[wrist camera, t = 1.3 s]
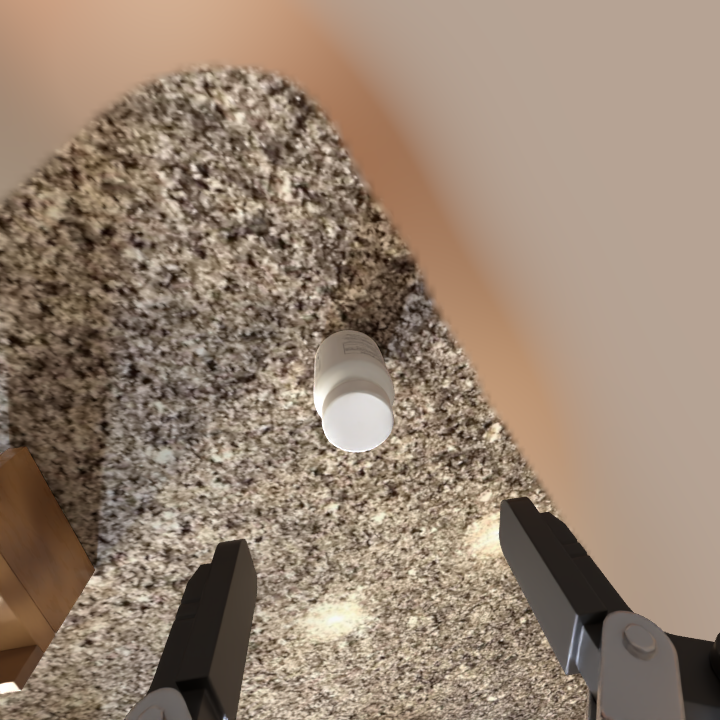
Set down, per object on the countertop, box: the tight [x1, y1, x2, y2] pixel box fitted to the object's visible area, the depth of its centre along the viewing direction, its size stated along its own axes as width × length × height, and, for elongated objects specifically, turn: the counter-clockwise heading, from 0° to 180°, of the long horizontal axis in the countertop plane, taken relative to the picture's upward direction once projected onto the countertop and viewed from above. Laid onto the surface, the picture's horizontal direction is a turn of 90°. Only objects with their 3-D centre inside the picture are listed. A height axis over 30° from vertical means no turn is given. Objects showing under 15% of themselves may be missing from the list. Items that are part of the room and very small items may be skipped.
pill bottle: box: [314, 330, 395, 452], centre depth 21 cm, size 4×4×8 cm
